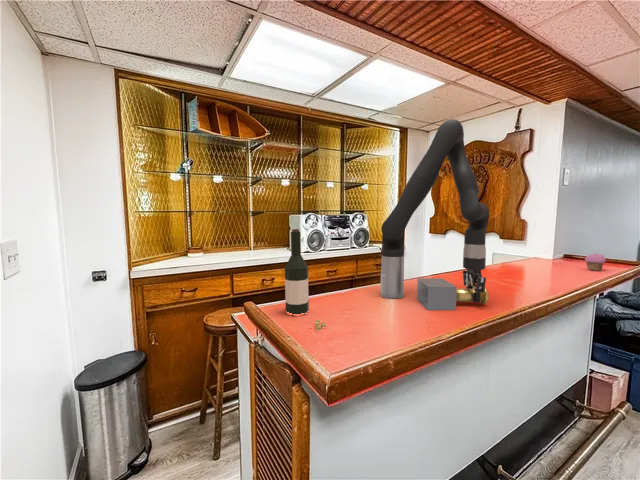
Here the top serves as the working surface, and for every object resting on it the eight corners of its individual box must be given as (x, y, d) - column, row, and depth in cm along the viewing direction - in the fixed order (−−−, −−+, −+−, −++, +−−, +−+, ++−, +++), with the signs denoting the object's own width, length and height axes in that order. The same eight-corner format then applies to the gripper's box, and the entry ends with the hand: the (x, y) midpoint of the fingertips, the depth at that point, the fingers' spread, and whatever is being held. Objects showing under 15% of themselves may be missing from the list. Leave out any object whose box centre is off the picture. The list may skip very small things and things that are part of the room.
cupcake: (608, 271, 170) (609, 254, 170) (598, 272, 168) (599, 254, 167) (590, 268, 179) (591, 252, 178) (580, 269, 177) (581, 253, 176)
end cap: (452, 305, 110) (452, 289, 110) (446, 300, 117) (446, 284, 116) (488, 306, 110) (489, 289, 109) (480, 300, 116) (480, 284, 116)
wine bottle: (300, 318, 101) (298, 230, 98) (280, 314, 105) (278, 229, 103) (313, 311, 108) (312, 228, 106) (295, 307, 113) (293, 228, 110)
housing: (427, 310, 107) (428, 286, 107) (417, 299, 121) (417, 278, 120) (455, 310, 107) (456, 286, 106) (442, 299, 121) (442, 278, 120)
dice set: (317, 325, 96) (317, 319, 96) (329, 329, 93) (329, 323, 92) (306, 329, 92) (306, 323, 92) (318, 334, 89) (318, 327, 89)
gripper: (456, 253, 119) (455, 295, 120) (472, 259, 105) (471, 306, 106) (475, 253, 119) (474, 295, 120) (494, 258, 104) (493, 306, 106)
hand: (473, 300), depth 113 cm, fingers closed on end cap, 5 cm apart
